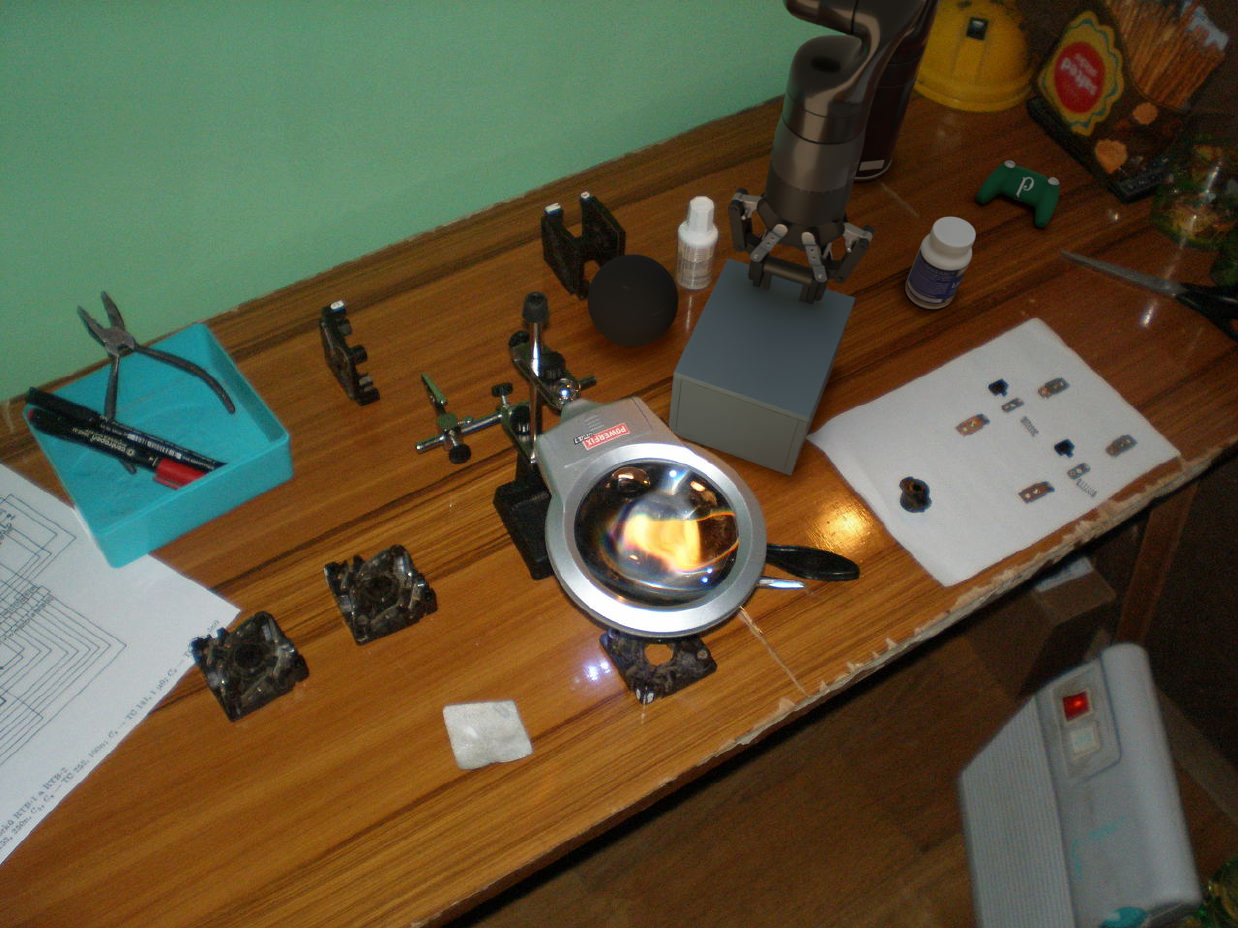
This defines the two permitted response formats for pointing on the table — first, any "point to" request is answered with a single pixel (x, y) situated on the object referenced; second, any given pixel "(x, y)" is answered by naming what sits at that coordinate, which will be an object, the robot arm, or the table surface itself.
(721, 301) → the lid
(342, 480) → the table surface
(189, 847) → the table surface
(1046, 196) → the gaming controller
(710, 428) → the grey box
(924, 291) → the pill bottle
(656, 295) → the black ball
